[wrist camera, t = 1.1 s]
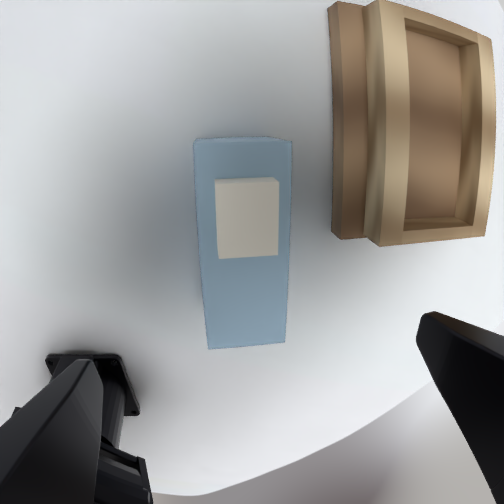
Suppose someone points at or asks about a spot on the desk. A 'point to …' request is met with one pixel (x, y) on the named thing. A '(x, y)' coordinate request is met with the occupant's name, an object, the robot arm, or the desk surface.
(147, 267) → the desk surface
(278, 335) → the blue slab
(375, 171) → the jig
